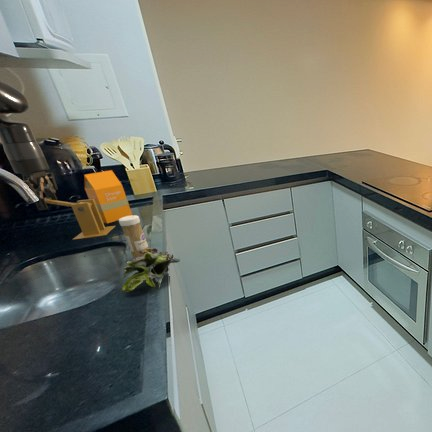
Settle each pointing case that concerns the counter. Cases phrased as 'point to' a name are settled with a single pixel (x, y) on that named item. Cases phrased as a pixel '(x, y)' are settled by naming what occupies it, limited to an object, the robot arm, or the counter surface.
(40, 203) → the robot arm
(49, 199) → the lever
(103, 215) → the orange juice
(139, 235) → the sprinkles bottle
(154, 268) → the green leafy plant
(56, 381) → the counter surface
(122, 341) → the counter surface
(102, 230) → the wooden slotted stand
